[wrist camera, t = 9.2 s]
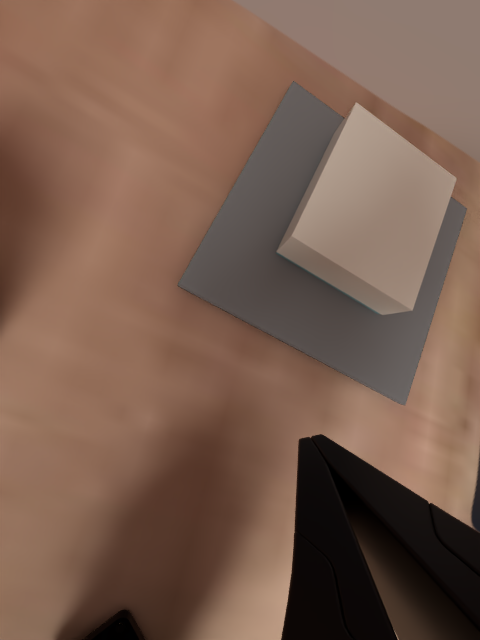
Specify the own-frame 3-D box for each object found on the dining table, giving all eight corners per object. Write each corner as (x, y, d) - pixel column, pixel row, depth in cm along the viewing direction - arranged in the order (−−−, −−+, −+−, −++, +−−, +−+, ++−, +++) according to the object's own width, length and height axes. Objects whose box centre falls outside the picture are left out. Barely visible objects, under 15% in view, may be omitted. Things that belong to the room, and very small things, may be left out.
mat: (399, 403, 20) (405, 405, 19) (177, 286, 17) (177, 284, 16) (461, 211, 24) (466, 208, 23) (290, 86, 20) (293, 80, 20)
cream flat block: (412, 310, 17) (456, 178, 19) (291, 236, 15) (356, 102, 17) (378, 315, 20) (420, 200, 22) (274, 253, 18) (331, 136, 20)
